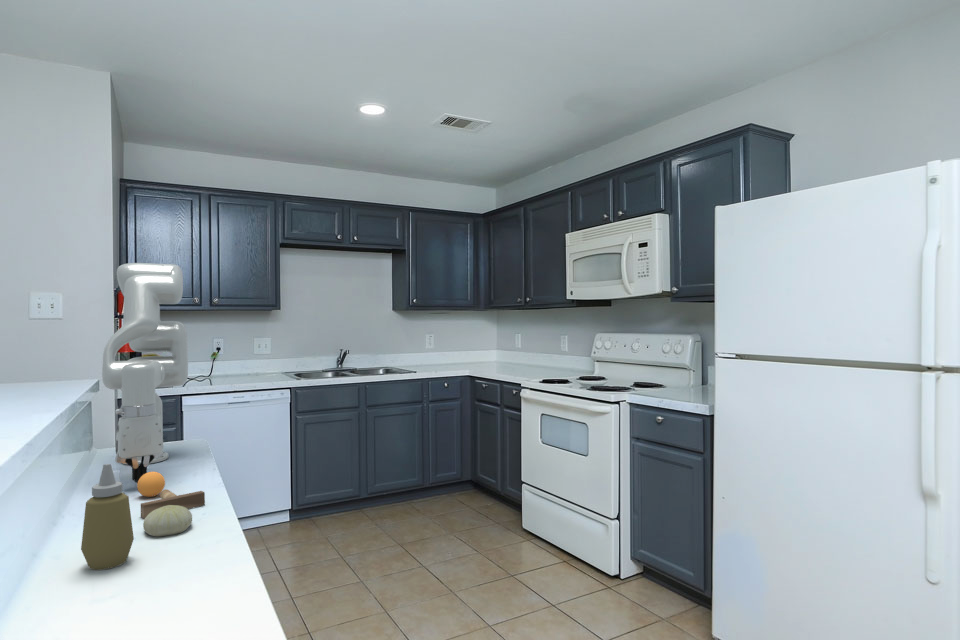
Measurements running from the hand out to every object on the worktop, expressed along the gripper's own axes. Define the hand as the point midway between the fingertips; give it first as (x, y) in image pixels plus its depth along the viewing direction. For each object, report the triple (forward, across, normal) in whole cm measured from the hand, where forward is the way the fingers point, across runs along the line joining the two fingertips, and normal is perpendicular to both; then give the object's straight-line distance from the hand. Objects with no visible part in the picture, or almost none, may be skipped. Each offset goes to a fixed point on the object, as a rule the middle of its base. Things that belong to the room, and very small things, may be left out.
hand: (139, 482), depth 153 cm
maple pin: (0, +2, -14) cm, 14 cm away
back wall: (+2, 0, -25) cm, 25 cm away
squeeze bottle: (+2, -18, -47) cm, 50 cm away
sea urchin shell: (+2, -5, -37) cm, 37 cm away
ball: (-2, 0, -10) cm, 10 cm away
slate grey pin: (+2, -9, -13) cm, 16 cm away
